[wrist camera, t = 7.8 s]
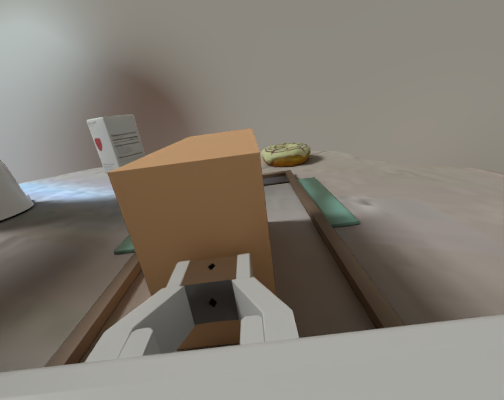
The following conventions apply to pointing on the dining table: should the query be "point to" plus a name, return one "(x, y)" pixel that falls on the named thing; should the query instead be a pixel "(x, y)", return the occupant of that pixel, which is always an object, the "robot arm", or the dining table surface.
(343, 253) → the trap lane
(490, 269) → the dining table surface
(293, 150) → the decorated donut
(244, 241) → the orange block
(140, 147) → the supplement box
